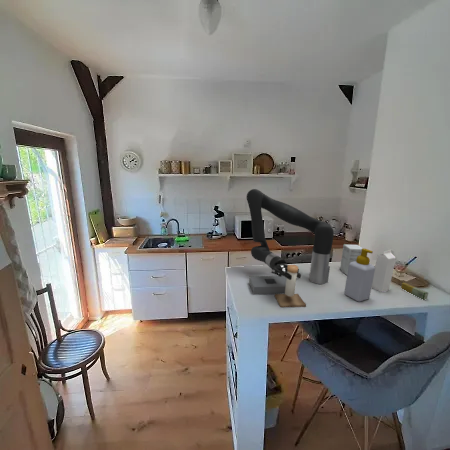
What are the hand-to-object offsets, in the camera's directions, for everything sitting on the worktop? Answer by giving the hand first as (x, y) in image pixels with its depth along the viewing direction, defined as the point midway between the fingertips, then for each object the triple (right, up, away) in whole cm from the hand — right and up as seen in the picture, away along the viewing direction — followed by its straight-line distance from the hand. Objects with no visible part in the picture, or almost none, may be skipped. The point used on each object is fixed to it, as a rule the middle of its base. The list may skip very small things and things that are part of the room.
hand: (295, 277), depth 113 cm
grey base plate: (-8, -10, +18) cm, 22 cm away
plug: (-1, -9, +5) cm, 10 cm away
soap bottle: (+34, -13, +12) cm, 39 cm away
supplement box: (+45, -6, +41) cm, 61 cm away
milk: (+52, -11, +21) cm, 57 cm away
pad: (-1, -13, +6) cm, 14 cm away
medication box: (+66, -13, +17) cm, 70 cm away
